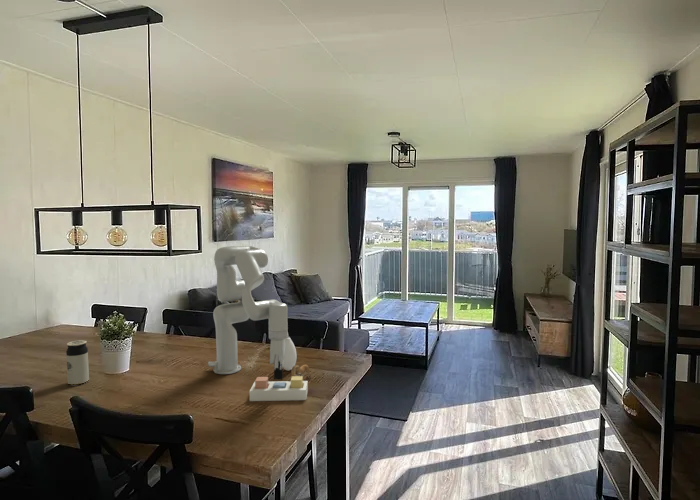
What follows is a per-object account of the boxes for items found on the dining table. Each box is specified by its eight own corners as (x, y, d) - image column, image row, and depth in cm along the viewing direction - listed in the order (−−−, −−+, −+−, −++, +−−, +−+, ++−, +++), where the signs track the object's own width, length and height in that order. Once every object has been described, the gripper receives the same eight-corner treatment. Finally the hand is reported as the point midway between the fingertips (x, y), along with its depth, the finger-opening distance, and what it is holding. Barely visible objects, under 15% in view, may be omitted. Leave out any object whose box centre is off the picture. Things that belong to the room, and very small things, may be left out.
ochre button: (290, 390, 172) (290, 380, 172) (291, 385, 176) (291, 376, 176) (301, 389, 172) (301, 380, 172) (302, 385, 177) (302, 376, 176)
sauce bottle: (293, 373, 201) (292, 334, 200) (277, 372, 202) (276, 334, 201) (298, 367, 208) (298, 330, 207) (283, 366, 210) (282, 330, 209)
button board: (249, 401, 169) (249, 391, 169) (254, 391, 179) (254, 381, 179) (306, 399, 170) (305, 390, 169) (307, 390, 180) (307, 380, 179)
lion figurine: (300, 388, 182) (300, 367, 181) (288, 387, 183) (288, 366, 183) (313, 376, 196) (312, 357, 195) (302, 375, 197) (302, 356, 197)
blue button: (273, 396, 172) (273, 386, 172) (274, 391, 176) (274, 382, 176) (284, 395, 172) (284, 386, 172) (285, 391, 176) (285, 382, 176)
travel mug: (86, 378, 196) (84, 339, 195) (91, 382, 191) (89, 342, 190) (65, 382, 191) (64, 342, 190) (70, 387, 185) (68, 346, 184)
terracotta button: (255, 390, 172) (255, 380, 171) (257, 386, 176) (257, 377, 176) (266, 390, 172) (266, 380, 172) (268, 386, 176) (268, 376, 176)
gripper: (271, 329, 180) (271, 372, 182) (265, 339, 165) (266, 385, 167) (289, 329, 181) (289, 372, 182) (285, 339, 166) (285, 385, 167)
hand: (278, 378), depth 174 cm, fingers closed
